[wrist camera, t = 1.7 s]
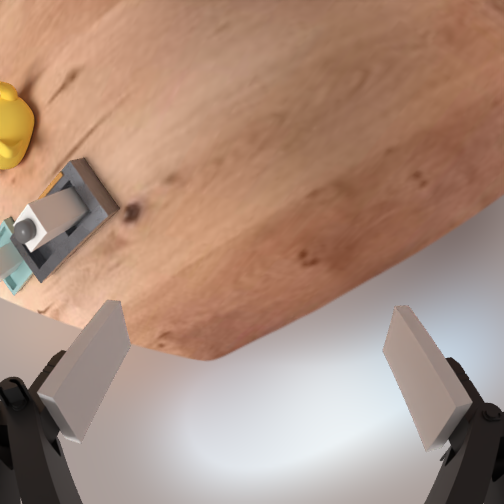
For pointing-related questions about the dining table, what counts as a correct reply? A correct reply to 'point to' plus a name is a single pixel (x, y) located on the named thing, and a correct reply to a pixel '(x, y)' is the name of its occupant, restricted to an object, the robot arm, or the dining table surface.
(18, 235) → the twin plug
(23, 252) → the grey socket base
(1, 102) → the teapot
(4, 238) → the tray
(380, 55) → the dining table surface
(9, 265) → the plug
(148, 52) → the dining table surface
